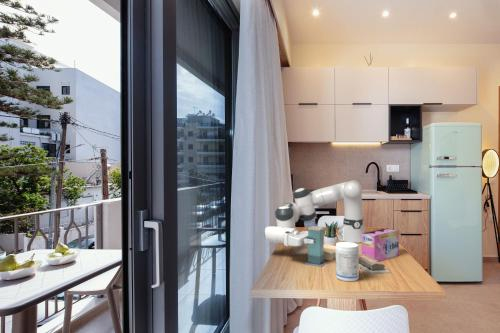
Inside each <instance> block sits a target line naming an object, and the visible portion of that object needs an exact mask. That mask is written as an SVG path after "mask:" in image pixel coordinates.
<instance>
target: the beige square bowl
mask: <svg viewBox="0 0 500 333" xmlns="http://www.w3.org/2000/svg"><path fill="white" fill-rule="evenodd" d="M335 259H336V245H334V244H333V245H332V244H326V243H324V261H332V260H335Z"/></svg>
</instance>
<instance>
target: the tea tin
mask: <svg viewBox="0 0 500 333" xmlns="http://www.w3.org/2000/svg"><path fill="white" fill-rule="evenodd" d="M324 228H325V227H323V226H316V225H315V226H314V225H311V226H309V227H307V231H308V239H314V240H315V243H313V244H312V243H307V261H308V263H312V264H317V265H320V264H322V263H323V262H324V261H325V259H324V244H325V243H324V242H325V241H324V235H325V234H324V230H325V229H324Z"/></svg>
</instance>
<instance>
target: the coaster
mask: <svg viewBox="0 0 500 333" xmlns="http://www.w3.org/2000/svg"><path fill="white" fill-rule="evenodd" d="M327 264H329V262H328V261H326V260H324V262H323V263H322V264H320V265H317V264H312V263H308V260H307V261H306V262H304V263H303V265H305V266H312V267H319V268H322V267H324V266H325V265H327Z"/></svg>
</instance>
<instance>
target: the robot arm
mask: <svg viewBox="0 0 500 333" xmlns="http://www.w3.org/2000/svg"><path fill="white" fill-rule="evenodd" d="M362 191H363V186H362V184H361V182H359V181H357V180H353V179H352V180H348V181H345V182H341V183H337V184H333V185H329V186H326V187H325V186H324V187H322V188H319V189H318V188H317V189H315V190H310V189H308V188H306V187H300V188H297V189H296V190H294V191H293V193H292V195H293V199H294V202H287V203H284V204H282V205H281V206H279V207H277V208H276V210H275V211H274V216H275V220H276V226H275V225H273V226H270V225H269V226H265V229H264V232H263V233H264V239H265V241H267V242H270V243H273V244H282V245H283V246H285V247H301V246H303V245H305V244H307V245H308V243H312V244H313V243H315V240H314V239H308V230H303V231H299V230H298V228H296V227H295V225H296V223H297V222H298V221H299V219H300V220H302V221H305V222H307V221H312V220H314V219H315V218H316V216H317V213H316V212H317V211H316V208H315V207H316V206H324V205H325V206H326V205H328V204H334V203H337V202H340V201H343V205H344V207H343V208H344V213H343V214H344V216H343V222H342V223H343V224H342V225H341V226H339V229H337V232H338V233H339V234H336V235H337V237H338V238H337V237H336V238H337V240H338V242H339V241H340V242H351V243H356V244H359V243H362V233H366V228H365V226H364V219H363V197H362V193H363V192H362Z"/></svg>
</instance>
